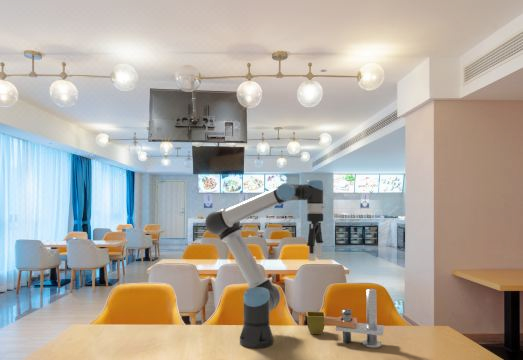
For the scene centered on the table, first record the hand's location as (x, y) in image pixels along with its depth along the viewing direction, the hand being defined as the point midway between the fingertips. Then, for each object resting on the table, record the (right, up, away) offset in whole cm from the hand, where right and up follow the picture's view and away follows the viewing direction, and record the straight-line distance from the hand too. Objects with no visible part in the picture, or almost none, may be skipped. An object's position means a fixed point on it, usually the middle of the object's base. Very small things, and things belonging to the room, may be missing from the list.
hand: (315, 258), depth 194 cm
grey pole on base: (+16, -36, -7) cm, 40 cm away
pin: (+14, -36, -6) cm, 39 cm away
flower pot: (+1, -37, +7) cm, 38 cm away
